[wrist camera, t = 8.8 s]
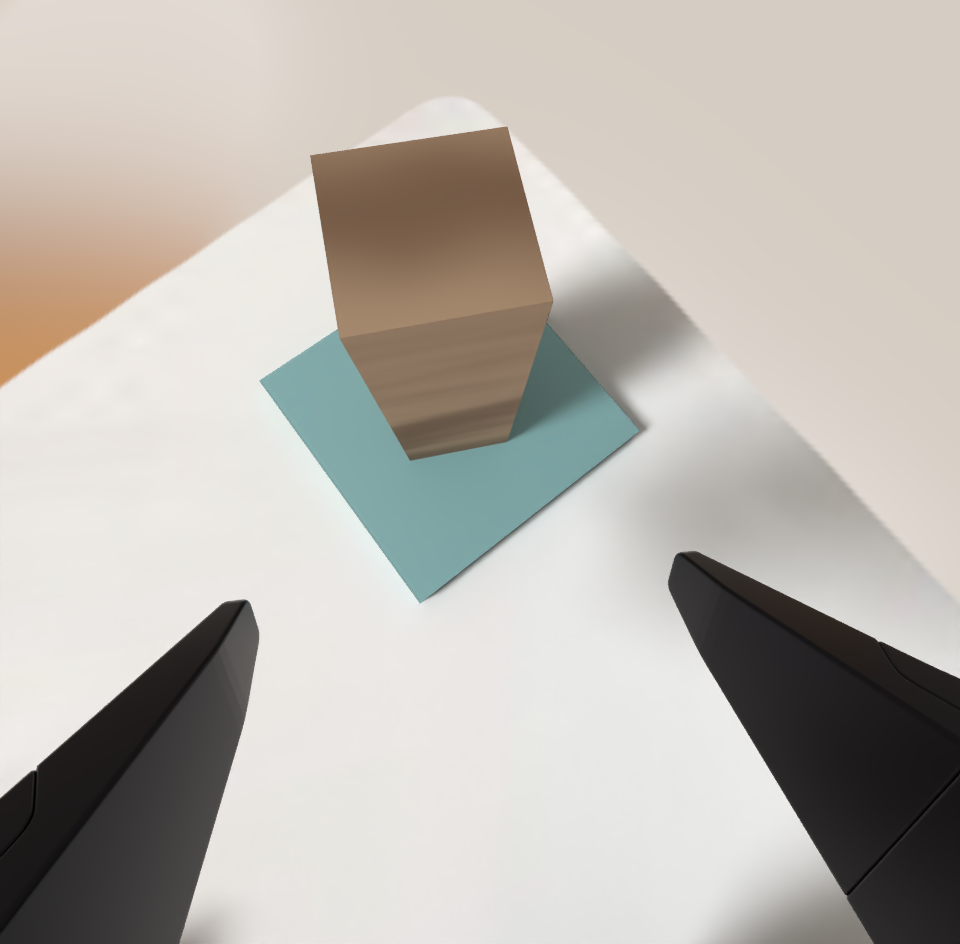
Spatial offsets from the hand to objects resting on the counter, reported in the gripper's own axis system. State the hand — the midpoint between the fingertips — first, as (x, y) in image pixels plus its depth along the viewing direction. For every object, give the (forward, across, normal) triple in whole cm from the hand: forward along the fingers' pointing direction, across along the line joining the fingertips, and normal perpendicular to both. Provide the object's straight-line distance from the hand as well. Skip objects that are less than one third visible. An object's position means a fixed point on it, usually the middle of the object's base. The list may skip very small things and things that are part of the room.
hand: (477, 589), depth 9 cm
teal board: (+16, -1, +2) cm, 16 cm away
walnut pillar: (+15, -1, +1) cm, 15 cm away
